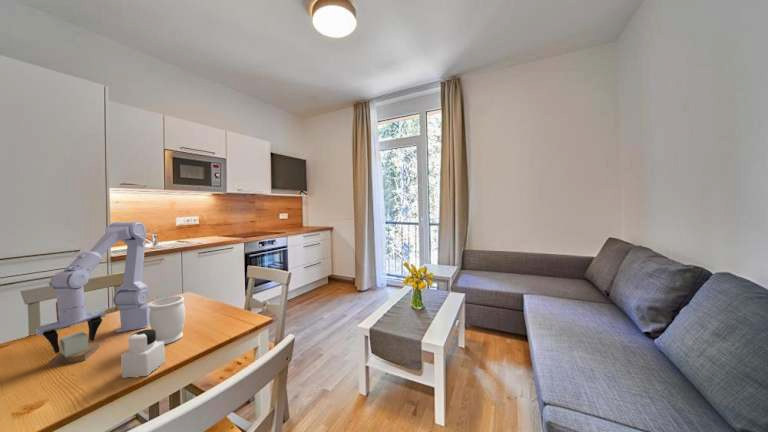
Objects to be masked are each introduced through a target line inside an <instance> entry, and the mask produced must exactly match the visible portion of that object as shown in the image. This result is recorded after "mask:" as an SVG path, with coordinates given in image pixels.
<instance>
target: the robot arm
mask: <svg viewBox="0 0 768 432" xmlns="http://www.w3.org/2000/svg"><path fill="white" fill-rule="evenodd" d="M146 236H147V227H146V226H145V225H144V224H143V223H142V222H140V221H133V222H132V221H130V222H129V221H125V222H124V221H122V222H119V221H114V222H111V223H110V224H109V225H108V226H107V227H106V228H105V233H104V234H103V236H102V237H101V238H100V239H99V240H98V241H97V242H96V243H95V244H94V246H93V247H92V248H91V249H90V250H89V251H84V252H82V253H79V254H78V255H77V256H76V258H75V259H74V260H73V261H72V262H71V263H70V264H69V265H67V267H65V268H64V270H63V271H60V272H57V273H55V274H54V275H52V277H51V278H50V281H49V282H48V285H49V287H50V288H51V289H52V290H53V292H54V294H55V296H56V302H57V306H58V317H59V321H57V320H56V321H55V322H51V323H49V324H46V325H43V326H40V327H36V328H35V333H36V336H37V337H38V336H43V337H44V338H45V339H46V340H47V341H48V342H49V344H50V345H51V347H52V350H53V352H54V353H55V354H57V353H58V354H59V353H60V345H59V333H58V332H57V330H61V329H64V328H65V327H66V328H69V327H68V326H70V327H72V325H73V326H75V325H78V324H82V323H85V322H87V326H88V341H90V342H93V341H95V338H96V334H97V331H98V330H99V329H98V328H99V327H100V325H101V324H102V321H103V318H105V317H106V311H105V310H100V311H95V312H90V313H87V312H86V302H85V301H86V299H85V291H84V286H86V285H87V284H88V282H89V279H90V276H91V274H92V272H93V271H94V270H95V268H97V266H99V264H100V263H101V262H102V261H103V258H102V256H103V255H104V254H105V253H106V252H108V250H109V249H111V248H112V247H113V246H115V244H117V243H118V242H120V241H121V242H123V243H124V244H125V245H127V247H126V255H125V262H124V263H125V264H124V265H125V266H124V272H123V281H122V284H119V286H117V287H116V289H115V294H114V295H113V297H112V303H113V304H114V305H115V306H117V309H119V315H120V316H119V319H120V328H119V327H118V329H117V330H116V331H115V333H122V332H128V331H133V330H139V329H145V328H148V326H149V325H150V321H149V316H150V310H151V309H150V308H149V304H150V303H151V302H150V303H149V302H148V300H149V298H150V293H149V288H148V285H147V284H145V283H144V282H142V278H143V269H144V261H145V260H144V259H145V253H146V252H145V249H146V241H147V240H146ZM146 302H148V303H146Z"/></svg>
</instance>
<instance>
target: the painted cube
mask: <svg viewBox="0 0 768 432" xmlns="http://www.w3.org/2000/svg"><path fill="white" fill-rule="evenodd" d="M59 344H60V345H59V347H60V353H62V354H63V355H64V356H65V357H67V356H70V355H73V354H76V353H79V352H82V351H85V350H87V349H89V347H88V344H89V334H87V333H85V332H84V331H80V332H77V333H74V334H70V335H66V336H63V337H60V338H59Z"/></svg>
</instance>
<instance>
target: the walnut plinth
mask: <svg viewBox="0 0 768 432" xmlns="http://www.w3.org/2000/svg"><path fill="white" fill-rule="evenodd" d="M88 347H89V349H87V350H85V351H82V352H79V353H76V354H73V355H70V356H67V357H65V356H64V355H63V354H62V353H61V352H58V354H57V355H55V356H54V357H53V358H52V359H50V360H49V361H48V365H49V367H48V368H53V367H58V366H63V365H68V364H69V365H70V364H73V363H78V362H83V361H86V360H88V358H89V357H91V356H92V355H93V354H94V353H95V352H96V351H97V350H98V349H100V343H99V342H92V343H88Z"/></svg>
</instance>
